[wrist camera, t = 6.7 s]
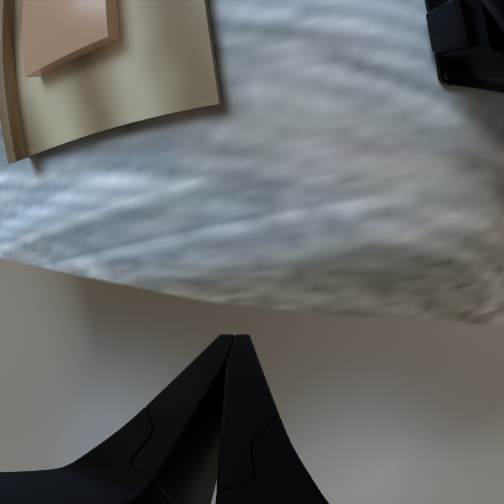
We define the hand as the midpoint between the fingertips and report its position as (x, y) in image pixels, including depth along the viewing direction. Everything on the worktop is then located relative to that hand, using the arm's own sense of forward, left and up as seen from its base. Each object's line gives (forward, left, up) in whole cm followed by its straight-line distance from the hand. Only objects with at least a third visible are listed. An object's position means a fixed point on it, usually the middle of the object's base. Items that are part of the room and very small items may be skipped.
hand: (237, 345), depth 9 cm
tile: (+7, -16, -10) cm, 20 cm away
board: (+9, -16, -12) cm, 22 cm away
